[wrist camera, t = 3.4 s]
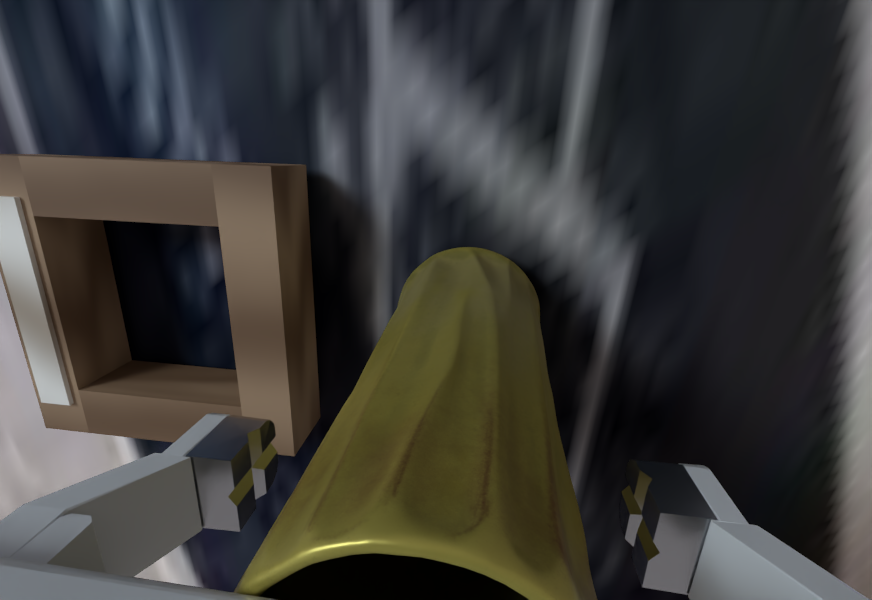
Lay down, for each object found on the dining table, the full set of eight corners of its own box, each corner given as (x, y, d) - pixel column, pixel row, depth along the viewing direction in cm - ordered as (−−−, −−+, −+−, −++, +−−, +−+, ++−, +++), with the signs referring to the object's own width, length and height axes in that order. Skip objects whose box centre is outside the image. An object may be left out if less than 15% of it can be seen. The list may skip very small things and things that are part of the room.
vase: (374, 328, 20) (119, 696, 6) (449, 216, 18) (312, 402, 4) (484, 400, 20) (468, 889, 7) (569, 299, 18) (790, 705, 5)
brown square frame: (44, 154, 19) (-41, 153, 16) (305, 164, 18) (267, 166, 15) (101, 394, 23) (41, 430, 20) (320, 417, 22) (292, 459, 19)
